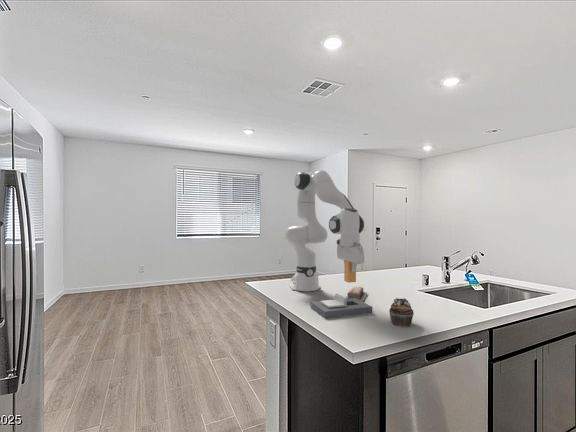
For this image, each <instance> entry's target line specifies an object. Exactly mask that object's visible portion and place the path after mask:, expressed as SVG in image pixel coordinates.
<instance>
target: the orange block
mask: <svg viewBox="0 0 576 432" xmlns="http://www.w3.org/2000/svg"><path fill="white" fill-rule="evenodd" d="M343 265H344V269H343V270H344V271H343V272H344V273H343V275H344V282H346V283H349V284H350V283H356V282H357V270H356V271H355V272H351V268H352V262H349V261H346V260H343Z"/></svg>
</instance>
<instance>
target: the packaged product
mask: <svg viewBox="0 0 576 432" xmlns="http://www.w3.org/2000/svg"><path fill="white" fill-rule="evenodd" d="M367 295H368V292H367V291H364V287H363V286H353V287H352V288H351V289H350V290H349V291H348V292H347V294H346V296H345V298H346V299H347V298H356V299H358V300H360V301H362V302H364V301H365V299H366V298H367Z"/></svg>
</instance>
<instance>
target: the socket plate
mask: <svg viewBox="0 0 576 432" xmlns="http://www.w3.org/2000/svg"><path fill="white" fill-rule="evenodd" d="M321 301H322V300H317V301H316V300H315V301H310V308H311V310H313V311H314V312H315V313H317V314H318V315H319V316H321V317H322V318H324V319H332V318H340V317H349V316H350V317H352V316H359V315H368V314H373V306H372V305H369V304H368V303H366V302H364V301H363V302H362V301H360V300H358V299H356V298H347V299H346V306H343V307H333V308H328V307H326V306H325V305H323V304H322V303H321Z"/></svg>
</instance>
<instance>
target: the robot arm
mask: <svg viewBox="0 0 576 432" xmlns="http://www.w3.org/2000/svg"><path fill="white" fill-rule="evenodd" d="M294 185H295V188H296V189H298V192H297V202H296V203H297V205H296V206H297V216H298V218H300V220H303V221H304V222H306V224H307V225H293V226H288V228H286V231H285V239H286V241H287V242H288V243H289V244H291V245H292V246H293V247H294V250H295V252H296V257H297V258H296V259H297V260H296V261H297V266H296V270H295V271H296V272H295V274H294V275H293V276H292V277H291V278H290V281H291V282H290V283H289V284H288V285H289V287H290V289H291V291H299V292H315V291H318V290H319V289H321V288H322V287H321V285H320V284H319V283H320V282H319V275H318V274H317V266H316V253H315V252H314V251H313V250H312V249H310V248H308V247H307V246H306V244H307V245H308V244H321V243H325V242H326V240H327V238H328V230H327V229H326V228H325V227H324V226H323V225H322V224H321V223H320V222H319V220H318V218H317V213H316V196H317V198H318V200H320V201H321V202H323V203H326V204H331V205H333V206H336V207H338V208H340V209H341V211H340V212H339V213H338V214H336V215H332V216H331V218H330V219H329V221H328V228H329V230H330V232H331V233H332V234H335V235H340V238H339V239H337V240H336V245H337V246H336V255H337V259H338V260H342V261H344V260H346V261H349V262H352V268H351V272H355V271H356V272H357V266H358V265H362V264H364V263H365V252H364V250H365V249H364V248H363V246H362V244H361V243H360V242H361V241H360V240H361V239H360V234H361V233H362V232H363V230H364V228H365V222H364V221H365V220H363V219H364V218H362V216H361V215H360V214H359V211H358V210H357V209H355V208H354V206H353V205H352V203H351V202H350V200H349V199H348V198H347V196H346V194H344V193H343V192H341V190H339V189H338V187H337V186H336V185H335V183H334V181H333V179H332V177H331V176H330V174H329V173H328V172H327V171H326V170H323V169H320V170H318V171H315V172H313V171H312V172H311V171H310V172H309V171H308V172H306V171H301V172H297V173H296V175H295V177H294Z"/></svg>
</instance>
